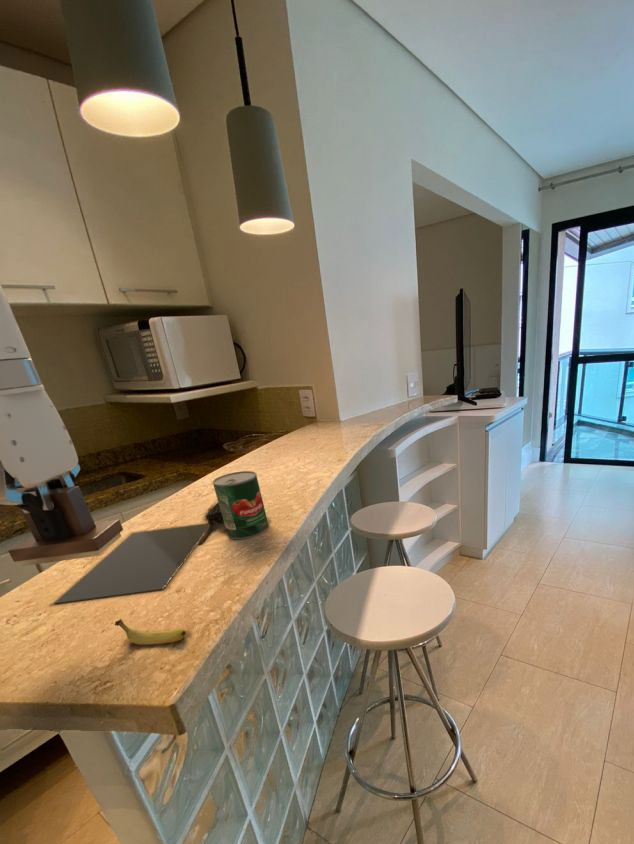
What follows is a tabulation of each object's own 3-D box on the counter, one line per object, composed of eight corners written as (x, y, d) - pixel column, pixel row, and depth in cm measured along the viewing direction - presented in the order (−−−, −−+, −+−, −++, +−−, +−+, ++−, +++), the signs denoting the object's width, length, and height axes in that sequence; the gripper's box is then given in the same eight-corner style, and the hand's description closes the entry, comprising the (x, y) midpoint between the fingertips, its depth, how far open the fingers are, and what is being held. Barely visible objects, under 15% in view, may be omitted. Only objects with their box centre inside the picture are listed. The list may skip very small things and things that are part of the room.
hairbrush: (246, 475, 105) (241, 503, 82) (250, 489, 107) (245, 520, 84) (213, 482, 104) (198, 512, 81) (217, 495, 105) (203, 529, 82)
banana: (122, 651, 50) (110, 625, 48) (131, 642, 51) (119, 616, 50) (186, 648, 49) (175, 621, 47) (192, 638, 51) (183, 612, 49)
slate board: (56, 608, 61) (53, 603, 60) (134, 537, 83) (132, 533, 82) (165, 594, 61) (163, 588, 61) (213, 527, 83) (212, 522, 83)
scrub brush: (16, 568, 49) (-16, 507, 46) (50, 545, 55) (23, 489, 51) (101, 556, 49) (74, 495, 46) (125, 535, 55) (103, 479, 52)
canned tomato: (240, 522, 84) (227, 471, 80) (275, 521, 82) (263, 469, 78) (219, 540, 77) (203, 485, 73) (257, 540, 75) (243, 484, 71)
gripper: (16, 379, 51) (75, 513, 58) (-119, 394, 36) (-17, 571, 43) (77, 372, 51) (128, 506, 59) (-32, 383, 37) (55, 561, 44)
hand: (66, 532), depth 51 cm, fingers closed on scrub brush, 2 cm apart
